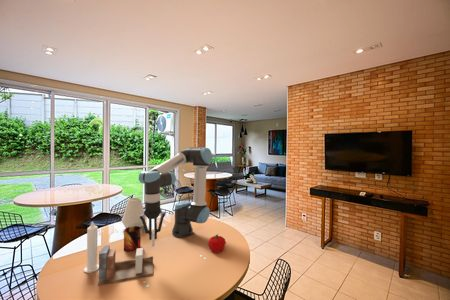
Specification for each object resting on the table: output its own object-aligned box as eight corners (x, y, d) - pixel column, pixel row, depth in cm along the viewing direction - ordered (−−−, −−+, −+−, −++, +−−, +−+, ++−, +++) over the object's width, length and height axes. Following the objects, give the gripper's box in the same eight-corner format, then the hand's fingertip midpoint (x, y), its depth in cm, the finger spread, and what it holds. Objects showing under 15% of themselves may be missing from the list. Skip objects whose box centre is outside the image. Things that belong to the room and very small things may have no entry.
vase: (130, 223, 169) (130, 195, 169) (149, 224, 166) (150, 196, 166) (116, 231, 152) (117, 201, 151) (138, 233, 149) (138, 202, 149)
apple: (215, 244, 133) (215, 229, 133) (228, 249, 127) (228, 233, 127) (205, 250, 125) (205, 235, 125) (218, 256, 119) (218, 239, 119)
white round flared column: (82, 274, 100) (82, 224, 100) (85, 266, 106) (86, 220, 106) (98, 271, 103) (99, 222, 103) (101, 263, 109) (101, 218, 109)
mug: (139, 253, 120) (139, 233, 120) (120, 250, 124) (120, 231, 124) (149, 246, 130) (149, 227, 130) (131, 243, 133) (131, 225, 133)
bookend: (142, 264, 107) (142, 247, 107) (141, 272, 100) (142, 254, 100) (136, 265, 106) (136, 248, 106) (135, 274, 99) (135, 255, 99)
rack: (152, 263, 111) (153, 238, 111) (153, 275, 100) (153, 247, 100) (103, 271, 102) (103, 244, 102) (97, 285, 92) (98, 255, 92)
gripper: (165, 198, 111) (165, 239, 111) (139, 200, 106) (140, 243, 107) (166, 201, 104) (166, 246, 104) (138, 204, 99) (139, 251, 100)
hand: (153, 245), depth 106 cm, fingers closed
